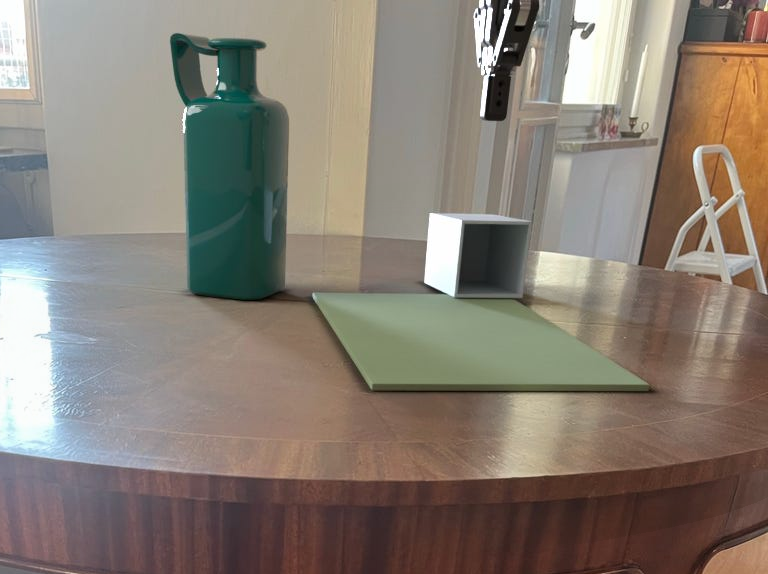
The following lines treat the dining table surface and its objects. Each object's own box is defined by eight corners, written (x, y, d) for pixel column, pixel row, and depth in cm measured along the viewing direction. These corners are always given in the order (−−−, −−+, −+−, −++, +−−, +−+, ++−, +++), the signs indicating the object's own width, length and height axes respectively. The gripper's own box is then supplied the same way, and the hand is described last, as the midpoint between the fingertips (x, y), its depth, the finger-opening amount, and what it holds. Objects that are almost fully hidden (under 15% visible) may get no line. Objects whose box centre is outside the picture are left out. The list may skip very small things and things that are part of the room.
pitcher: (291, 289, 99) (298, 38, 88) (258, 302, 92) (261, 32, 81) (206, 280, 102) (203, 37, 91) (168, 293, 95) (159, 31, 84)
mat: (507, 300, 97) (507, 294, 97) (648, 391, 68) (650, 384, 67) (312, 297, 95) (312, 292, 95) (371, 390, 66) (372, 383, 65)
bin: (493, 214, 102) (532, 221, 91) (485, 283, 105) (522, 298, 95) (429, 213, 101) (461, 220, 91) (424, 282, 104) (454, 297, 94)
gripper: (587, -119, 77) (553, 123, 86) (535, -92, 89) (510, 119, 98) (497, -123, 77) (472, 122, 85) (457, -95, 88) (438, 118, 97)
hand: (492, 120), depth 92 cm, fingers closed
